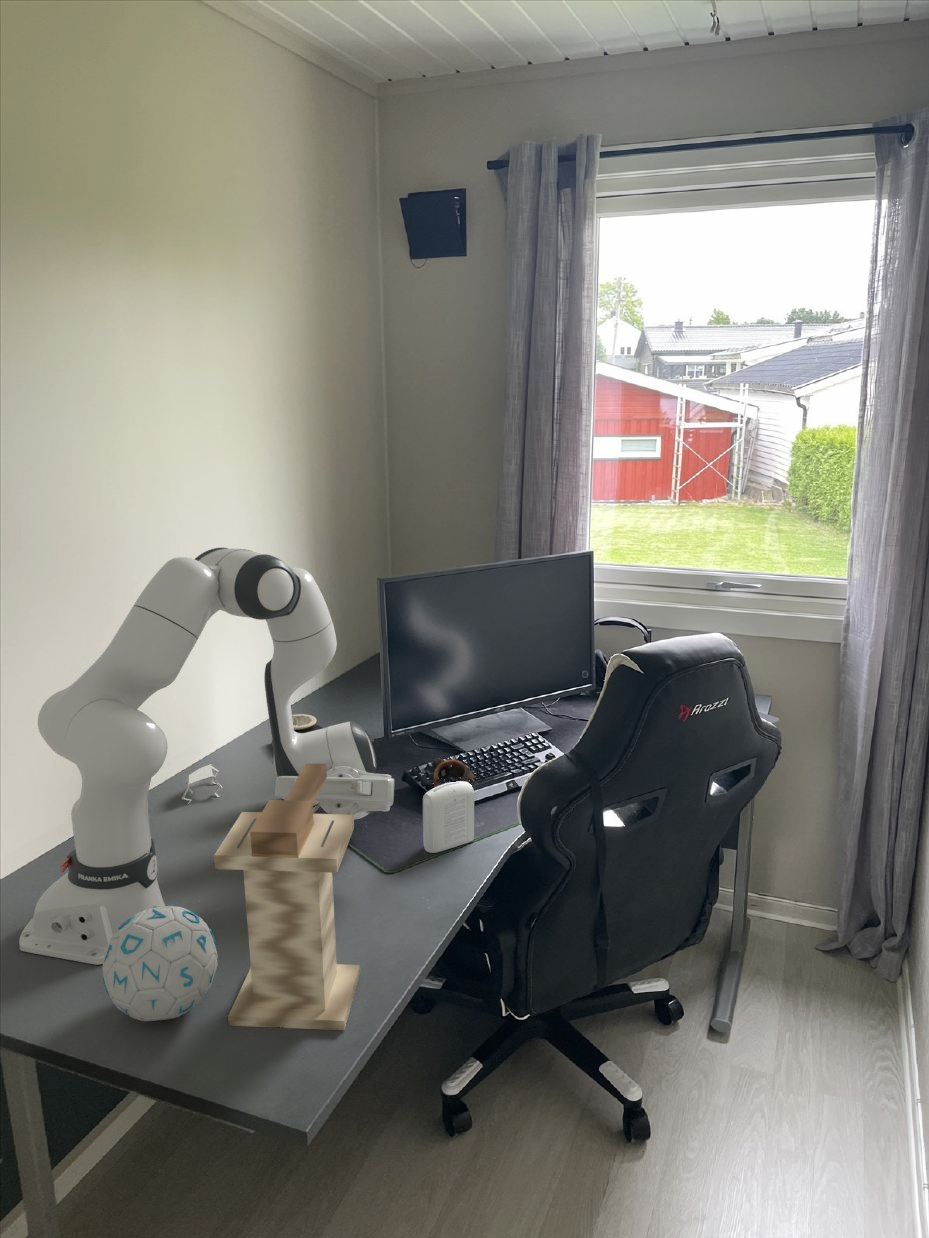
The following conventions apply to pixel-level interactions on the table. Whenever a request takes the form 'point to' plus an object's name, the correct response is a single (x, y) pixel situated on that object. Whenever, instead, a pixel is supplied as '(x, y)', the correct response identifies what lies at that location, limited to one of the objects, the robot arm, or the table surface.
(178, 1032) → the table surface
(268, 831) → the wooden mallet
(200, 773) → the light grey legged piece
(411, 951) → the table surface
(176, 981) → the puzzle ball
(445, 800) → the photo printer
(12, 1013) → the table surface
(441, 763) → the pottery mug
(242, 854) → the pine stand
